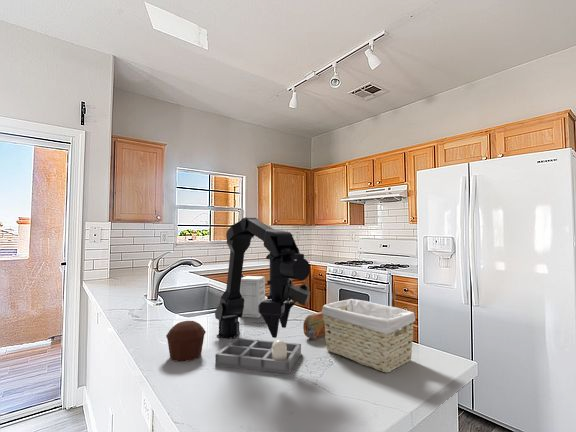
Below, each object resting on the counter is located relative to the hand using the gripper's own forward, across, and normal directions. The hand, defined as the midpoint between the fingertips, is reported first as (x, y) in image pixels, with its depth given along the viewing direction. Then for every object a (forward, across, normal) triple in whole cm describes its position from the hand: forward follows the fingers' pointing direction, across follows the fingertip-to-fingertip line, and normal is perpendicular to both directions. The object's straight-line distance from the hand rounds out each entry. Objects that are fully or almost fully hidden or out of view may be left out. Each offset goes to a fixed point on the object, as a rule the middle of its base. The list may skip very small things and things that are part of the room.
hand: (279, 332), depth 90 cm
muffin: (+10, 0, +30) cm, 31 cm away
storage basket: (+10, +14, -24) cm, 29 cm away
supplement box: (+10, +50, +28) cm, 58 cm away
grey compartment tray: (+9, +4, +7) cm, 12 cm away
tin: (+10, +29, -6) cm, 31 cm away
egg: (+8, 0, 0) cm, 8 cm away
